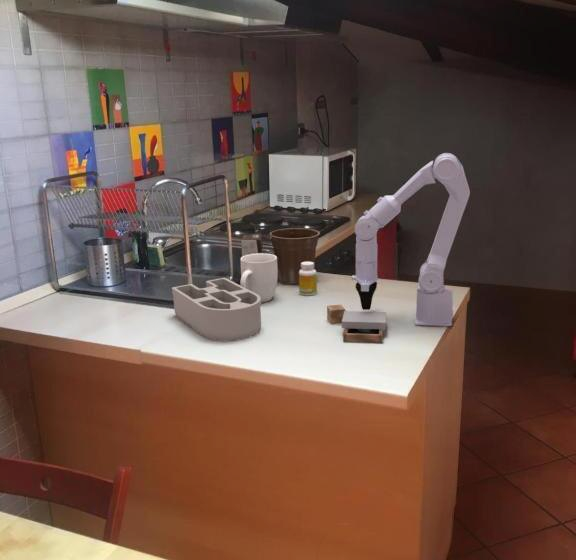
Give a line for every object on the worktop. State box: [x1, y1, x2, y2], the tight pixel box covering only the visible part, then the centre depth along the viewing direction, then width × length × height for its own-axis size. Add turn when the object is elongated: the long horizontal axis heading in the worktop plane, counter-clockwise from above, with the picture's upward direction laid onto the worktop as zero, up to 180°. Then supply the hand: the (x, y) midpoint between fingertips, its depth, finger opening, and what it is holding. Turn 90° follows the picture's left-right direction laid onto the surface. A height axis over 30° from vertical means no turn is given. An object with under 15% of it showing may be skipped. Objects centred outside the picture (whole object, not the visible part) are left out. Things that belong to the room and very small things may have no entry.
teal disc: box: [358, 329, 372, 333], centre depth 166 cm, size 3×3×1 cm
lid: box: [341, 310, 387, 330], centre depth 165 cm, size 11×8×2 cm
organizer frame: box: [342, 328, 384, 344], centre depth 164 cm, size 10×14×2 cm
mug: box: [239, 252, 278, 303], centre depth 190 cm, size 15×11×13 cm
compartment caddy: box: [171, 277, 262, 341], centre depth 172 cm, size 17×28×9 cm, turn 31°
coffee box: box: [240, 233, 264, 257], centre depth 206 cm, size 9×6×16 cm
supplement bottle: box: [298, 262, 318, 296], centre depth 196 cm, size 5×5×10 cm
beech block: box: [326, 304, 346, 325], centre depth 172 cm, size 4×4×4 cm
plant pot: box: [269, 227, 321, 286], centre depth 209 cm, size 16×16×16 cm
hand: (366, 308), depth 174 cm, fingers closed
